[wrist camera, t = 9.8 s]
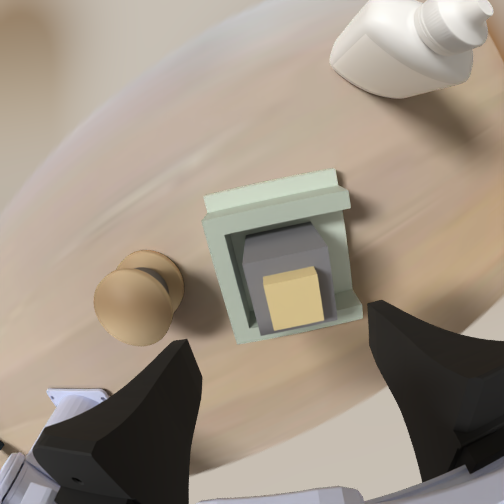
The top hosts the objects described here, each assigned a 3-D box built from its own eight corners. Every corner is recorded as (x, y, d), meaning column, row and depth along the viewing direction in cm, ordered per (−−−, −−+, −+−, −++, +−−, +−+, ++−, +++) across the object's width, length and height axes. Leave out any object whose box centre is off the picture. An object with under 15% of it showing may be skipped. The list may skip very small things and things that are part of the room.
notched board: (352, 309, 22) (363, 331, 19) (243, 331, 23) (241, 356, 20) (332, 167, 19) (345, 171, 16) (205, 194, 20) (196, 203, 17)
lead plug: (320, 280, 20) (342, 330, 15) (260, 293, 21) (261, 347, 15) (310, 221, 19) (332, 253, 13) (245, 234, 20) (241, 272, 14)
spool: (193, 309, 22) (181, 341, 18) (131, 319, 23) (112, 349, 19) (171, 242, 21) (153, 264, 17) (108, 258, 21) (82, 280, 17)
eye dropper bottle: (376, 121, 18) (506, 107, 6) (316, 55, 17) (387, -42, 5) (418, 85, 17) (550, 54, 5) (362, 21, 16) (454, -70, 4)
